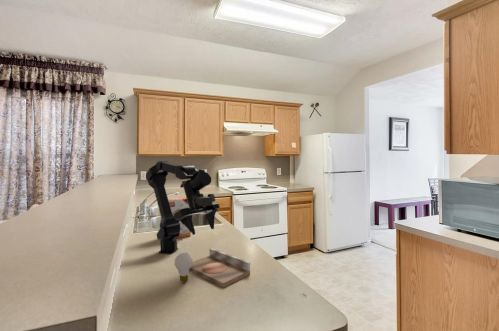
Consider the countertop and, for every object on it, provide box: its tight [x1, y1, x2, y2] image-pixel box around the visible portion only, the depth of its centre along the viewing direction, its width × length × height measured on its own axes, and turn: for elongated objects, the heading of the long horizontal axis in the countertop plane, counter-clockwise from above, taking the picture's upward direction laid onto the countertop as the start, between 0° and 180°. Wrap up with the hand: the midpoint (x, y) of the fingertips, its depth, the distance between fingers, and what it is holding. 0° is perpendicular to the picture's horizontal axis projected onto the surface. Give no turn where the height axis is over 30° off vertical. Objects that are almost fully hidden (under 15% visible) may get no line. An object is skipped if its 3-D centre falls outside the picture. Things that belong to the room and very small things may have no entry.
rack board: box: [189, 247, 251, 288], centre depth 96 cm, size 22×13×4 cm, turn 48°
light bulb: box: [174, 252, 193, 283], centre depth 88 cm, size 6×6×10 cm
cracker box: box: [168, 196, 192, 239], centre depth 138 cm, size 14×6×21 cm, turn 117°
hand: (203, 231), depth 100 cm, fingers open, 9 cm apart
